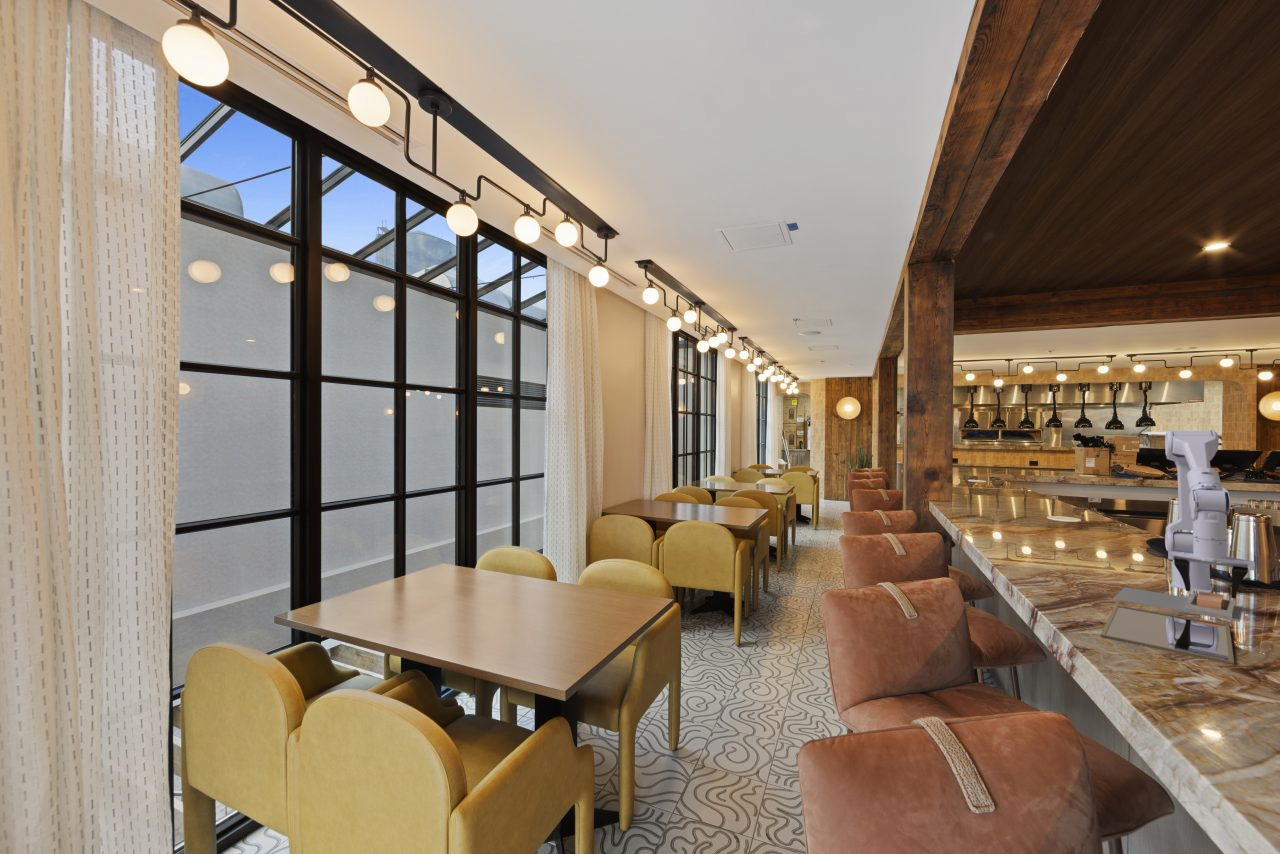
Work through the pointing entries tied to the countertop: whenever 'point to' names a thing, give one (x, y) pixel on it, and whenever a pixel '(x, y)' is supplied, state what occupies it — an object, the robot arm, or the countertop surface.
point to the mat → (1166, 601)
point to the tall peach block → (1210, 600)
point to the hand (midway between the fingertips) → (1210, 593)
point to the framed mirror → (1170, 633)
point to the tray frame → (1208, 610)
